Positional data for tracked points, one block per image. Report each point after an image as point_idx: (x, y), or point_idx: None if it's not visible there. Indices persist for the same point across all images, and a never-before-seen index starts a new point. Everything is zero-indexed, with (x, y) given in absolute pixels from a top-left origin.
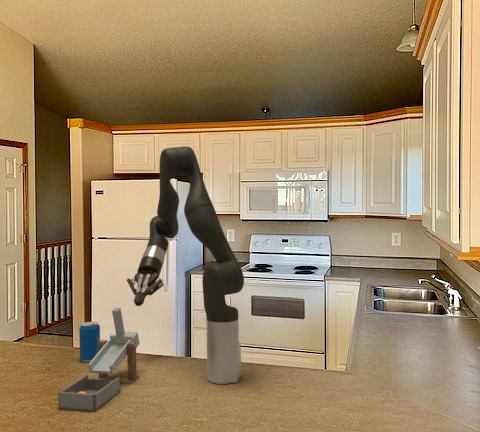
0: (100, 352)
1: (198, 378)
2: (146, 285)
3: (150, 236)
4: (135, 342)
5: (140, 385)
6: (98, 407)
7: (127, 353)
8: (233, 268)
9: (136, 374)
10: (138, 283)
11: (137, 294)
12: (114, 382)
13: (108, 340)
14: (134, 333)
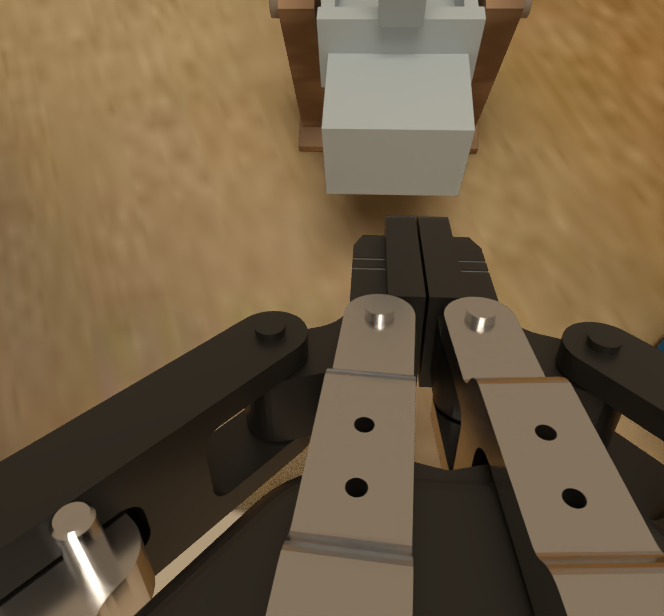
0: None
1: (31, 186)
2: (325, 380)
3: None
4: (278, 6)
5: (259, 71)
6: None
7: (320, 6)
8: None
9: (301, 119)
10: (557, 411)
11: (458, 281)
12: None
13: (476, 6)
14: (339, 113)
